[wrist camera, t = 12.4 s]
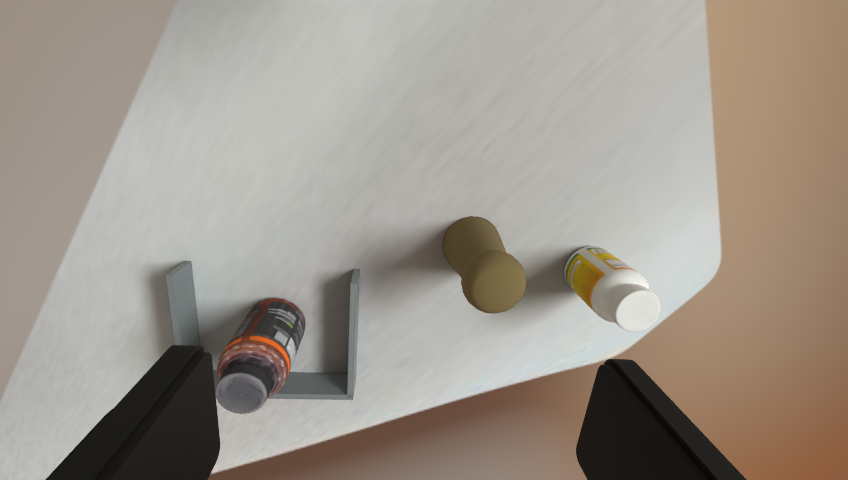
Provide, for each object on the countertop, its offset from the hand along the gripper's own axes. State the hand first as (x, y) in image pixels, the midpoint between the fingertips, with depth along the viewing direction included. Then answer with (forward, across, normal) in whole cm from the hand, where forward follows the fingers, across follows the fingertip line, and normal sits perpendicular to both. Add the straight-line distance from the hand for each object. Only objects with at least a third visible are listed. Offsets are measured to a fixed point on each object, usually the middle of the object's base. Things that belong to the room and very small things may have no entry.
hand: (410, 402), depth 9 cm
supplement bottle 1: (+30, +12, +16) cm, 36 cm away
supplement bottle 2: (+30, -21, +8) cm, 38 cm away
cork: (+30, -8, +6) cm, 32 cm away
